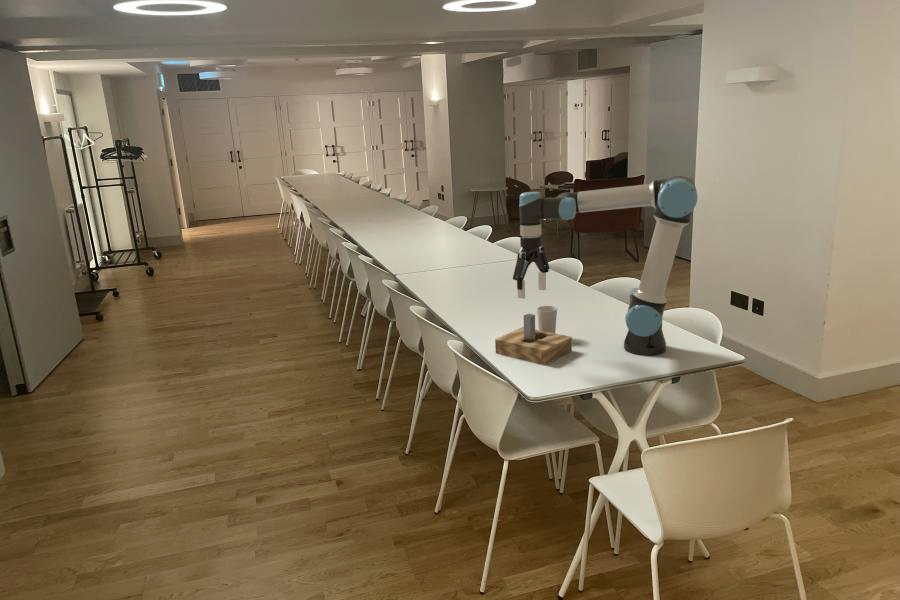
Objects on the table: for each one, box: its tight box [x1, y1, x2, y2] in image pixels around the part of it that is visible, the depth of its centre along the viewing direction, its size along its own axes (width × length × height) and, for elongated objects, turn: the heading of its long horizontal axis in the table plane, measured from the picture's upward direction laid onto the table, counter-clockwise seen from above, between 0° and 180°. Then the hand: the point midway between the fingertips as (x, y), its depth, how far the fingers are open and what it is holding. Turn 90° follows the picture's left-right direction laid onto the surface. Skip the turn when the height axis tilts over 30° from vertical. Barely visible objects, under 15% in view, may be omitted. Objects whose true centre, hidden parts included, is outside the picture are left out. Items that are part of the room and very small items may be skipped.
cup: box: [536, 305, 558, 333], centre depth 262 cm, size 8×8×12 cm
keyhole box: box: [494, 326, 573, 366], centre depth 247 cm, size 22×18×6 cm
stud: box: [523, 313, 536, 343], centre depth 244 cm, size 5×5×15 cm
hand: (532, 293), depth 241 cm, fingers open, 13 cm apart
